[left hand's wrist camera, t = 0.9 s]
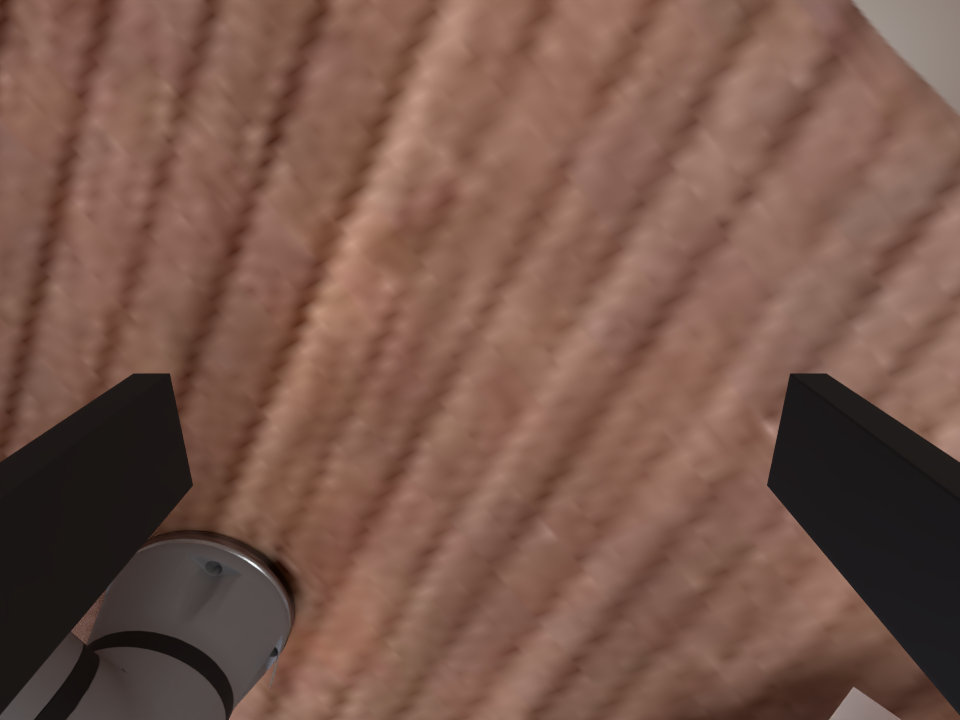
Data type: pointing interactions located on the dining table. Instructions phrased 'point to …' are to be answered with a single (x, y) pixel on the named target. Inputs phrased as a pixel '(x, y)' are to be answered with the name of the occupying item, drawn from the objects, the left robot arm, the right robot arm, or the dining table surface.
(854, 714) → the pile of blocks
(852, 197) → the dining table surface
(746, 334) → the dining table surface
